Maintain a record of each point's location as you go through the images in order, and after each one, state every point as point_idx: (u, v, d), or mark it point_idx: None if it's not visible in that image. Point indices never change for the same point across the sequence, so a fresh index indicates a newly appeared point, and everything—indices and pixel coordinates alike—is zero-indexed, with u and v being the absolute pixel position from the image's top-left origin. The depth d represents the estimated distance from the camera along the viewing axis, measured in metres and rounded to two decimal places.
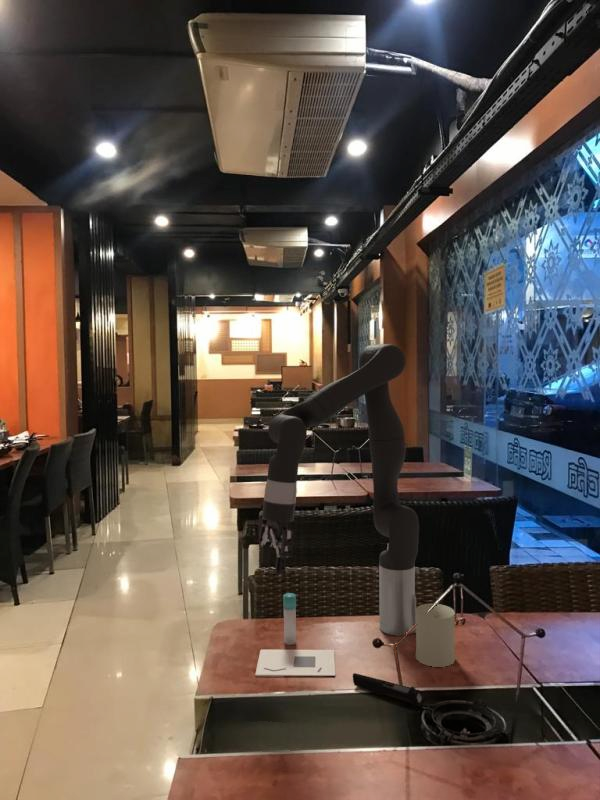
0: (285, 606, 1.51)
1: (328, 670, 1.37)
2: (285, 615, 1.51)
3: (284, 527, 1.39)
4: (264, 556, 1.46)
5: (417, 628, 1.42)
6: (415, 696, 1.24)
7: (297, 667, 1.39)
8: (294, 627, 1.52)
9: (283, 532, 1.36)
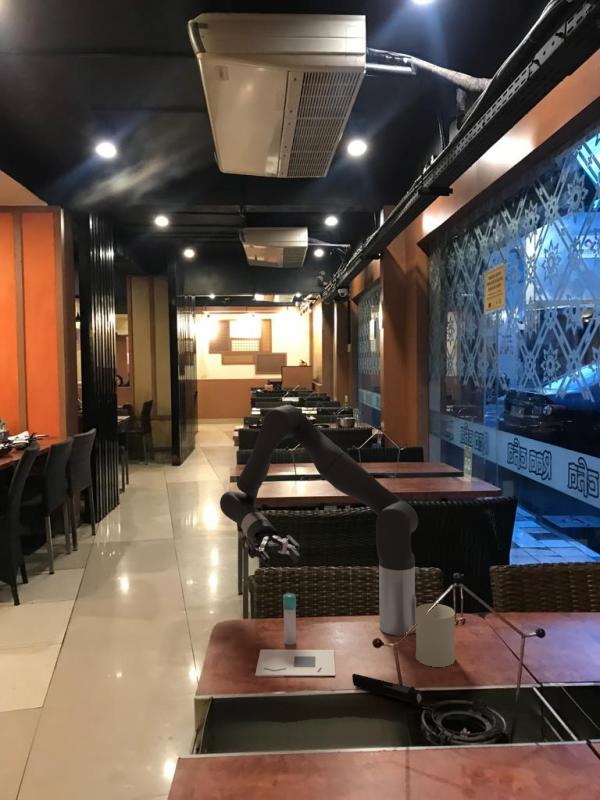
0: (285, 606, 1.51)
1: (328, 670, 1.37)
2: (285, 615, 1.51)
3: None
4: (293, 558, 1.60)
5: (417, 628, 1.42)
6: (415, 696, 1.24)
7: (297, 667, 1.39)
8: (294, 627, 1.52)
9: None
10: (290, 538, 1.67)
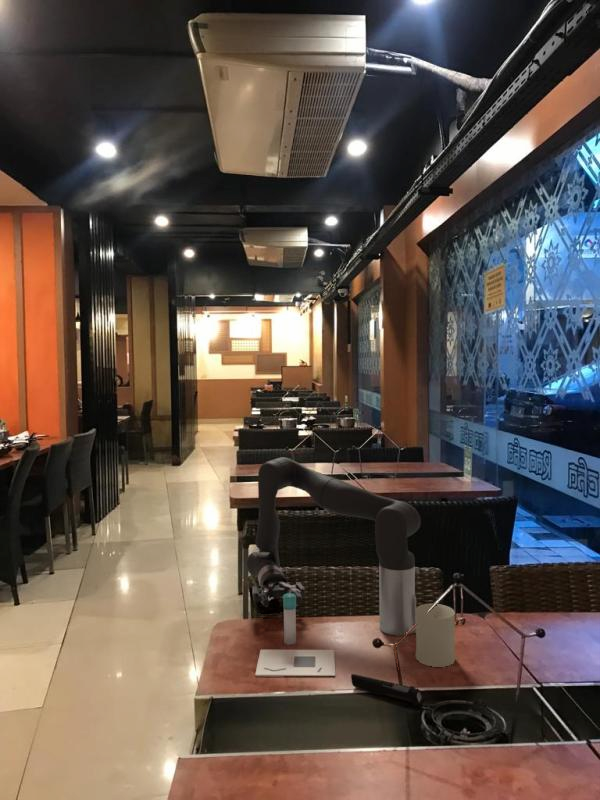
0: (285, 606, 1.51)
1: (328, 670, 1.37)
2: (285, 615, 1.51)
3: None
4: (296, 600, 1.63)
5: (417, 628, 1.42)
6: (415, 695, 1.24)
7: (297, 667, 1.39)
8: (294, 627, 1.52)
9: None
10: (298, 584, 1.70)
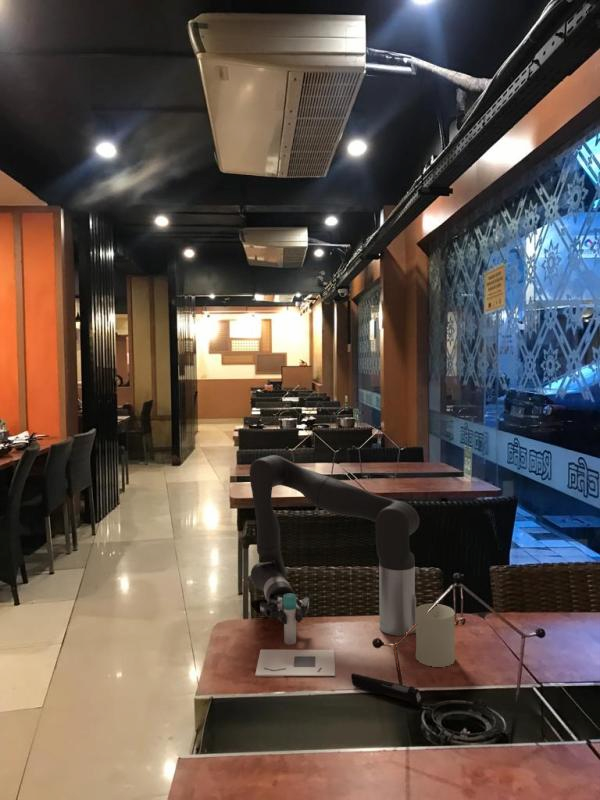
0: (285, 606, 1.51)
1: (328, 670, 1.37)
2: None
3: None
4: (296, 618, 1.51)
5: (417, 628, 1.42)
6: (414, 695, 1.24)
7: (297, 667, 1.39)
8: (294, 627, 1.52)
9: None
10: (305, 600, 1.59)
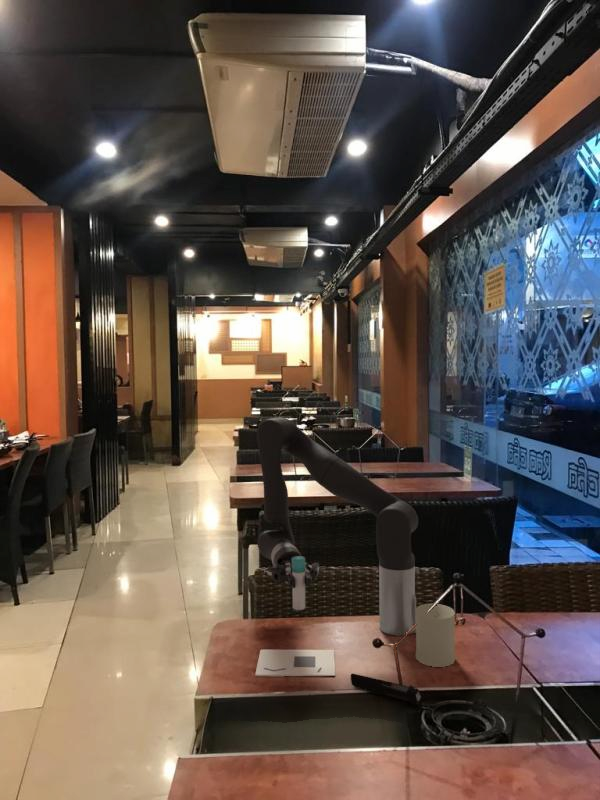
0: (294, 569, 1.43)
1: (328, 670, 1.37)
2: None
3: (276, 568, 1.51)
4: (305, 582, 1.43)
5: (417, 628, 1.42)
6: (414, 695, 1.24)
7: (297, 667, 1.39)
8: (303, 591, 1.43)
9: None
10: (315, 564, 1.50)
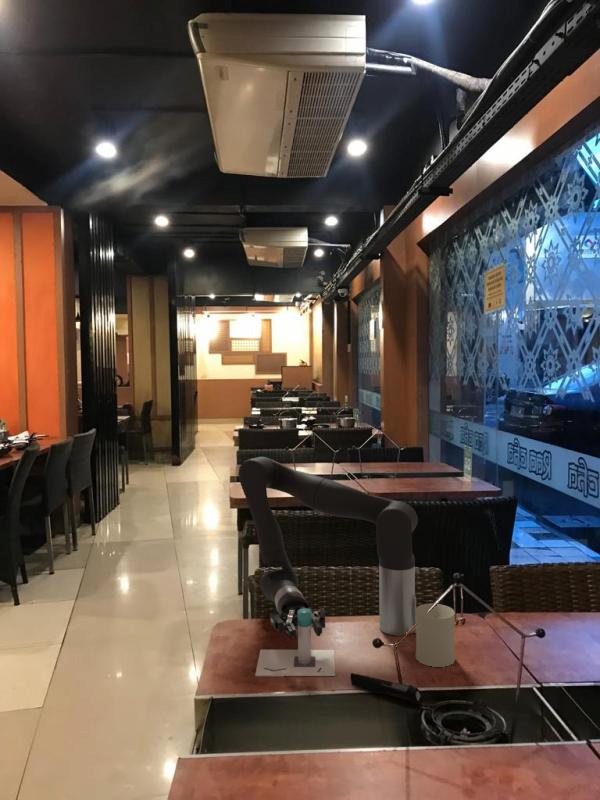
0: (300, 623, 1.40)
1: (328, 670, 1.37)
2: (300, 632, 1.40)
3: None
4: (315, 631, 1.41)
5: (417, 628, 1.42)
6: (414, 694, 1.24)
7: (297, 667, 1.39)
8: (309, 645, 1.40)
9: None
10: (321, 611, 1.48)
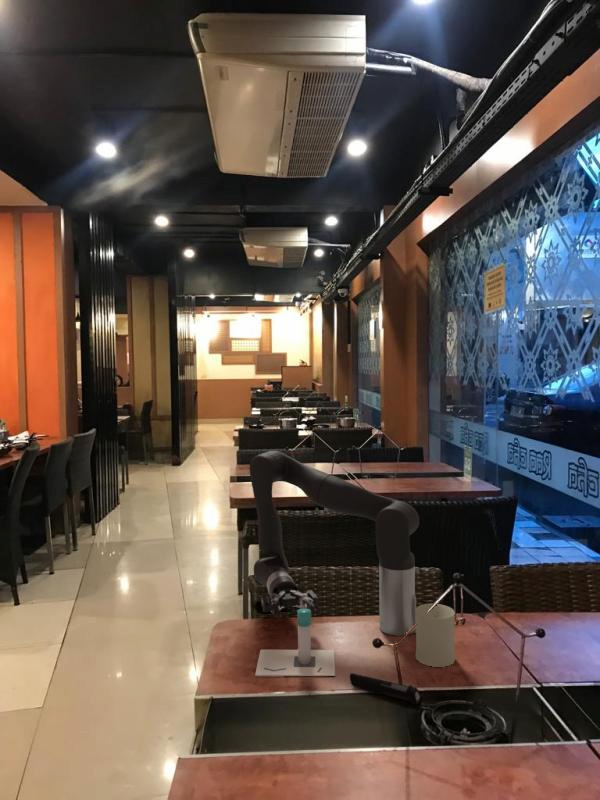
0: (299, 623, 1.40)
1: (328, 670, 1.37)
2: (299, 632, 1.40)
3: None
4: None
5: (417, 628, 1.42)
6: (413, 694, 1.24)
7: (297, 667, 1.39)
8: (309, 645, 1.40)
9: None
10: (310, 592, 1.60)
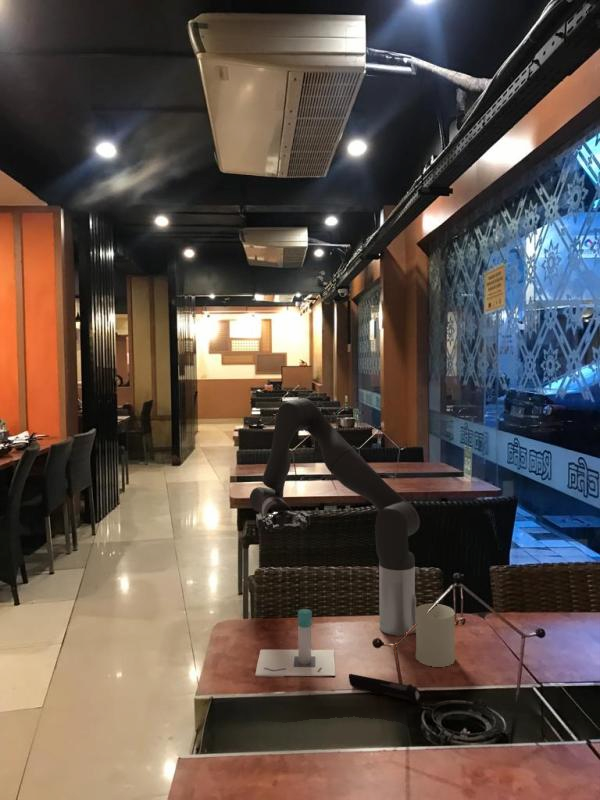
0: (300, 623, 1.40)
1: (328, 670, 1.37)
2: (300, 633, 1.40)
3: None
4: (301, 526, 1.60)
5: (417, 628, 1.42)
6: (414, 693, 1.25)
7: (297, 667, 1.39)
8: (309, 646, 1.40)
9: None
10: (303, 512, 1.67)
